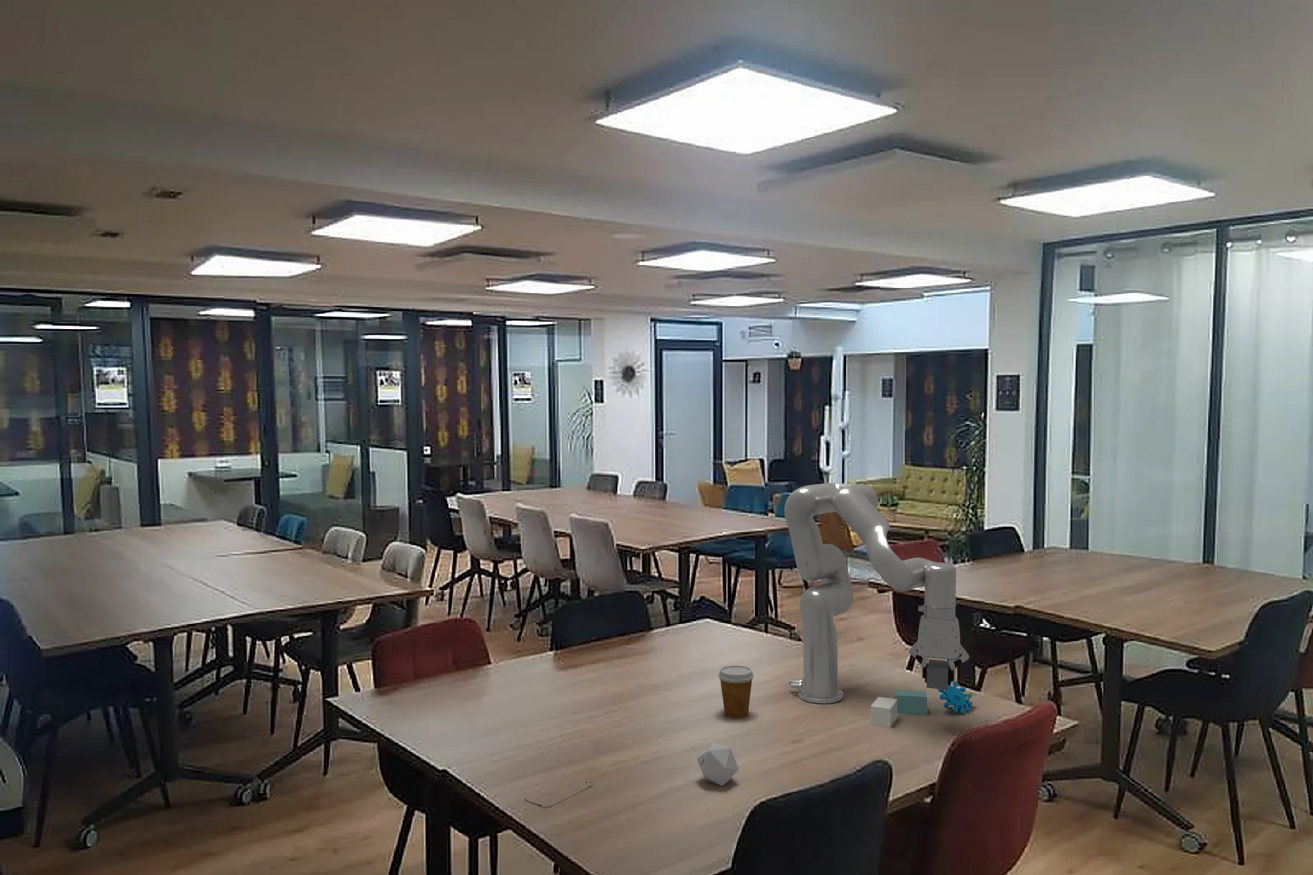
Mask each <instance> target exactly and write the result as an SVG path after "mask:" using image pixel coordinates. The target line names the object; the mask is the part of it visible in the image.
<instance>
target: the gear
mask: <svg viewBox="0 0 1313 875" xmlns="http://www.w3.org/2000/svg"><path fill="white" fill-rule="evenodd" d="M959 685H960V684H959V682H958V681H957V680H954V682H953V681H952V685H951V686H950V685H948V689H947V690H941V689H937V691H938V692H939V693H941V694H940V695H939V698H940V700H942V701H943V700H946V702H944V703H943V707H945V708H949V707H951V706H953V708H952V709H951V711H952V712H953V713H955V714H956V713H958V711H959V714H960V715H965V714H966V713H969V712H971V710H972V709H971V706H973V702H972V701H971V700H970V699H971V698H972V697H973V696H974V694H973V693H974V692H972V691H971V692H969V693H965V691H966V690H967V689H966V687H965V686H964V685H962V686H961V687H960V688H959V687H958V686H959ZM958 709H960V710H958Z"/></svg>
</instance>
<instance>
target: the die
mask: <svg viewBox="0 0 1313 875" xmlns="http://www.w3.org/2000/svg"><path fill="white" fill-rule="evenodd" d="M696 760H697V763H698V765H699V768H700V770H701V774H702V776H703V778H704V780H705V781H707V782H710V783H712V784H715V785H717V786H721V787H723V786H724V785H726V783H727V782H729V780H730V779H732V778H733V776H734V775H736V773H738V771H739V770H740V769H739V766H738V764H737V761H736V759H735V756H734V753H733V751H732V747H730V746H727V745H722V744H719V743H716V742H711V743H710V744H709V746H707V748H705V749H704V751H702V753H700V754H699V755H698V757H696Z"/></svg>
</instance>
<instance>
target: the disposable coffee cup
mask: <svg viewBox="0 0 1313 875" xmlns="http://www.w3.org/2000/svg"><path fill="white" fill-rule="evenodd" d="M719 669H720V670H719V673H718V676H717V677H718V678H719V682H720V687H721V689H720V690H721V697H722V704H723V710H724V715H725V716H726V717H727V718H731V719H744V718H746V717H748V715H749V710H750V702H751V692H752V683H753V679H754V677H755V674H754V673H753V669H752V668H751V667H748V666H745V665H727V666H723V667H721V668H719Z"/></svg>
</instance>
